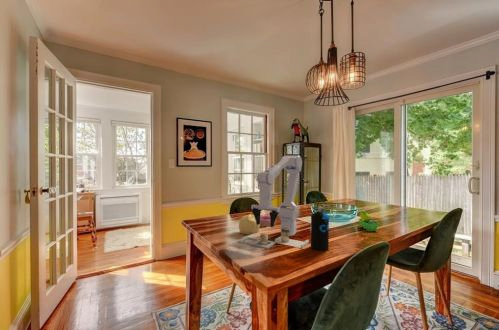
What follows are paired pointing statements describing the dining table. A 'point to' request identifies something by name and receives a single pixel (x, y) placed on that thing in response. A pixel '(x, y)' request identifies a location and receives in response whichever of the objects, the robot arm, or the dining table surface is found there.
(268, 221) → the donut
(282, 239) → the plain peg
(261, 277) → the dining table surface
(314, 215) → the aerosol can
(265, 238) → the banded peg
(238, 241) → the pin block
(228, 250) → the dining table surface
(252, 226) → the sculpture
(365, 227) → the green lumpy piece
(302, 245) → the flanged base plate
